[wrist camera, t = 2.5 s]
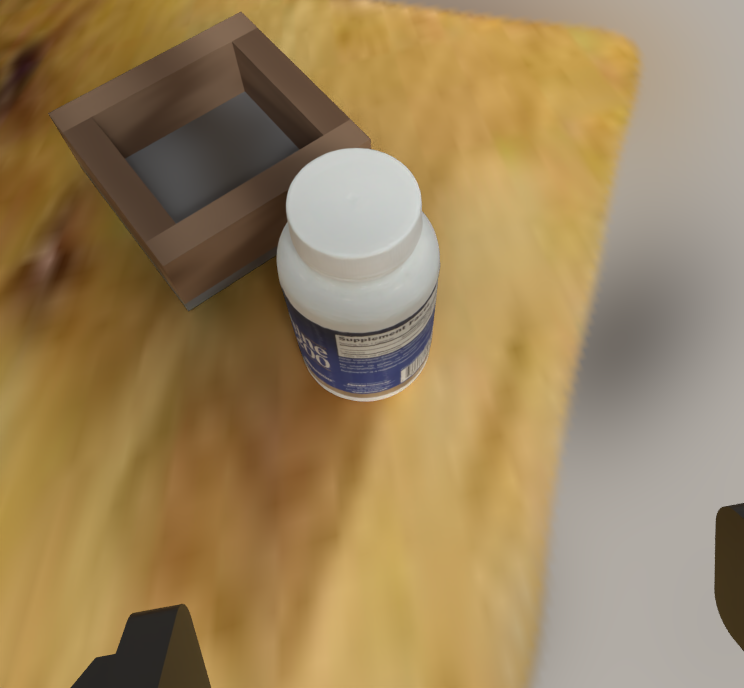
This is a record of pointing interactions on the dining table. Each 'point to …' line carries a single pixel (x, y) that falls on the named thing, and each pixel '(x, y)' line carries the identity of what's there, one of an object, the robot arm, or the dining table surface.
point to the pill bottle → (359, 273)
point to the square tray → (205, 151)
